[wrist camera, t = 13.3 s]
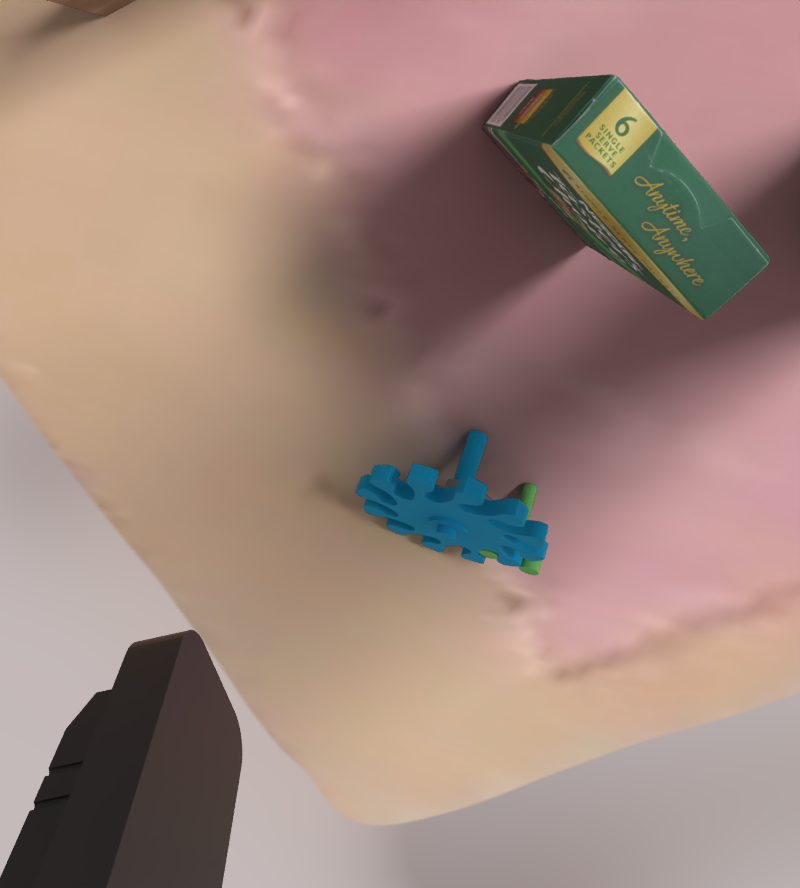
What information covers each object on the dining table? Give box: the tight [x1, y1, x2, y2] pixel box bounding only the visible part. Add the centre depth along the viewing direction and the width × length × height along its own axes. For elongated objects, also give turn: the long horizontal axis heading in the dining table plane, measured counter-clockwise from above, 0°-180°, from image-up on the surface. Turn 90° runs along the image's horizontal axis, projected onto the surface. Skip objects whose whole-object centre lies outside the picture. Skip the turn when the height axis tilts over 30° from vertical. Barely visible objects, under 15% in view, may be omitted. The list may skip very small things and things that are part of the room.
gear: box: [355, 430, 548, 575], centre depth 38 cm, size 11×6×10 cm
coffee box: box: [482, 75, 770, 320], centre depth 28 cm, size 8×3×13 cm, turn 46°
